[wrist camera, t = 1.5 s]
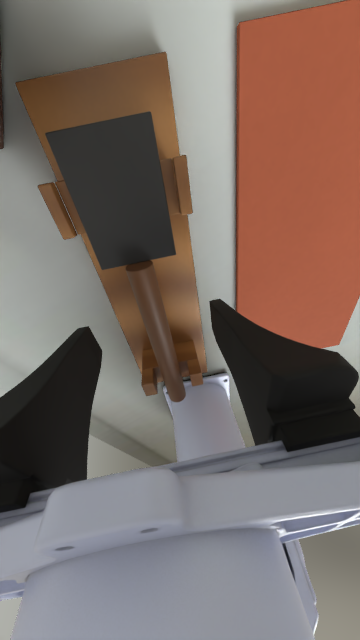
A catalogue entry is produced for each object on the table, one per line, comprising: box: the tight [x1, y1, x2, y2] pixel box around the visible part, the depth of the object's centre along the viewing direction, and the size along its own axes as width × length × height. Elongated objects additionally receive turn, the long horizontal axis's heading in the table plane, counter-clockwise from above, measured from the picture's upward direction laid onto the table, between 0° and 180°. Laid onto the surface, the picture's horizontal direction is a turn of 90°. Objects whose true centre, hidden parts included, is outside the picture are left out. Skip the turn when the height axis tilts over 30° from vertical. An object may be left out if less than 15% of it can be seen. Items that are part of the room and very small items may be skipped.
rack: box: [15, 52, 208, 396], centre depth 15 cm, size 23×7×5 cm, turn 9°
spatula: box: [45, 111, 186, 402], centre depth 14 cm, size 19×4×2 cm, turn 9°
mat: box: [236, 0, 360, 348], centre depth 17 cm, size 24×12×1 cm, turn 9°
